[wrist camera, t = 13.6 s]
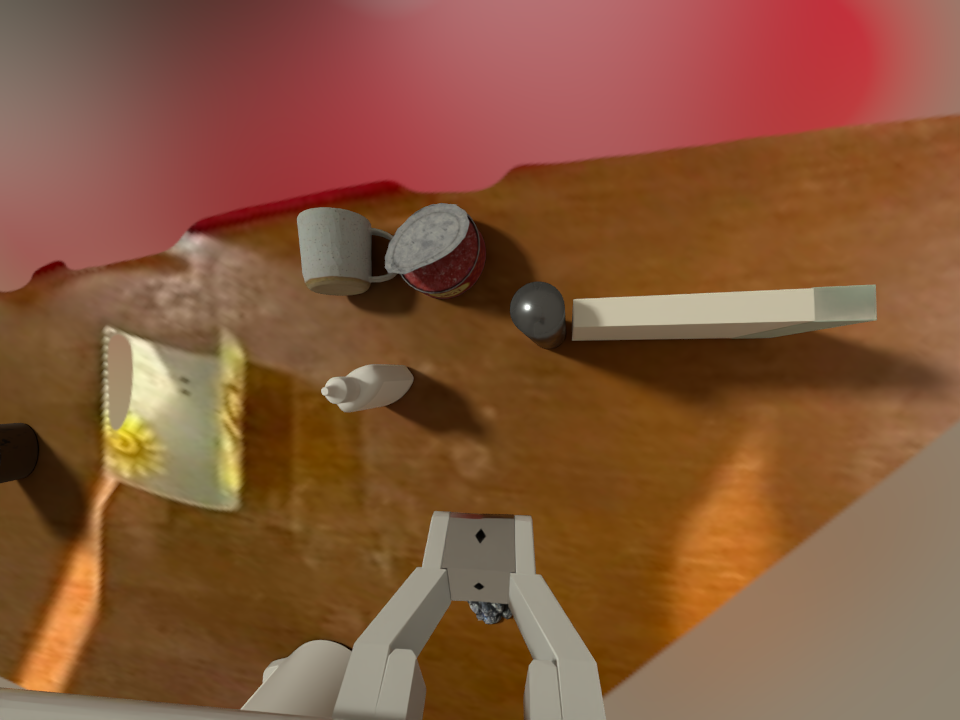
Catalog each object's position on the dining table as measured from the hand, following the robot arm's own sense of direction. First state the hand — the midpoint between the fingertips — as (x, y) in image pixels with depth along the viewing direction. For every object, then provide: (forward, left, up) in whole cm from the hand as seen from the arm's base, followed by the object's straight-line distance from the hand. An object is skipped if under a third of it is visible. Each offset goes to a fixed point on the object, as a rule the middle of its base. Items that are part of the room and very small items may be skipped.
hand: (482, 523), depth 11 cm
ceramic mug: (+14, +25, -27) cm, 39 cm away
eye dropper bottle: (-1, +18, -27) cm, 32 cm away
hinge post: (+9, +1, -26) cm, 28 cm away
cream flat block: (+11, -10, -26) cm, 30 cm away
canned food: (+15, +15, -27) cm, 34 cm away
